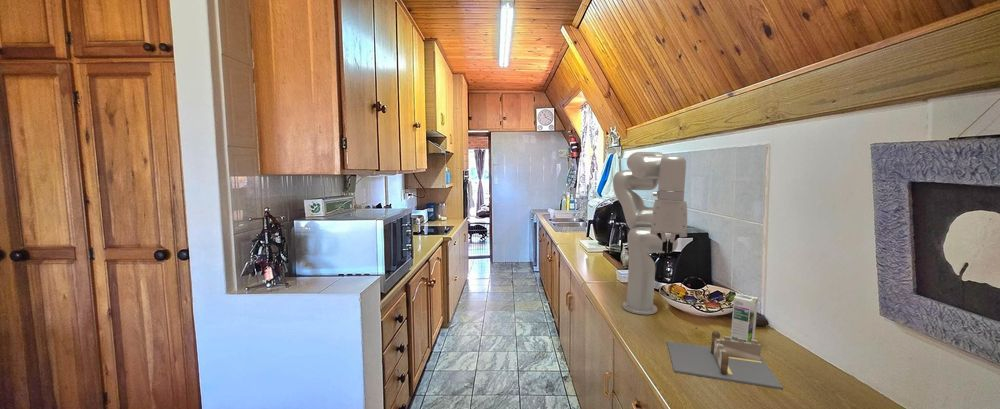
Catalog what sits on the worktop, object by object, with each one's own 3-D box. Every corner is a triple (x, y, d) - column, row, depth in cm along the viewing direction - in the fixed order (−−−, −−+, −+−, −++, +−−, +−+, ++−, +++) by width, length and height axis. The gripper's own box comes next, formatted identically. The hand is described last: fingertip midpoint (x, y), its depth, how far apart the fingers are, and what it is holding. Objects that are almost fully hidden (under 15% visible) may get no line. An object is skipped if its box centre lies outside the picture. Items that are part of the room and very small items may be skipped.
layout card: (666, 342, 122) (667, 340, 122) (758, 355, 115) (759, 353, 115) (674, 372, 105) (674, 369, 105) (782, 389, 98) (782, 387, 98)
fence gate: (712, 353, 113) (713, 337, 113) (718, 354, 113) (720, 337, 112) (721, 372, 103) (722, 354, 102) (727, 374, 102) (729, 355, 102)
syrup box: (729, 341, 124) (733, 296, 122) (734, 335, 128) (737, 292, 126) (750, 347, 120) (754, 301, 118) (754, 340, 124) (758, 296, 122)
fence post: (709, 352, 116) (711, 329, 115) (757, 359, 112) (760, 335, 111) (711, 356, 114) (712, 332, 113) (760, 363, 110) (762, 338, 109)
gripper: (644, 196, 121) (641, 254, 123) (698, 198, 116) (693, 259, 118) (645, 194, 128) (642, 249, 130) (696, 196, 122) (692, 253, 124)
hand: (667, 253), depth 124 cm, fingers closed
